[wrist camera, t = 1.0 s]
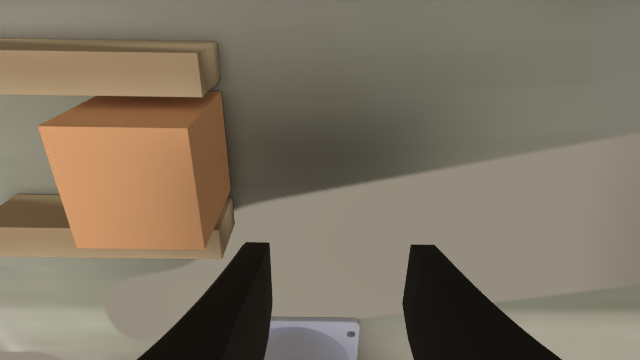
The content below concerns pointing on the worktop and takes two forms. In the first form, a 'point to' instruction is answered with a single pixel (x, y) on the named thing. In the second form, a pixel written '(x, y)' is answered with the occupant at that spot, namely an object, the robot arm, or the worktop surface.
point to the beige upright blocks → (99, 80)
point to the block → (141, 170)
